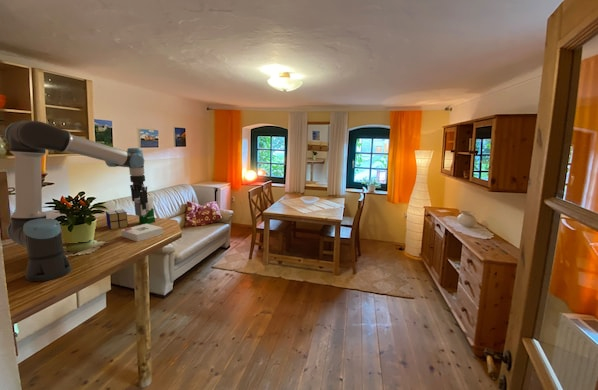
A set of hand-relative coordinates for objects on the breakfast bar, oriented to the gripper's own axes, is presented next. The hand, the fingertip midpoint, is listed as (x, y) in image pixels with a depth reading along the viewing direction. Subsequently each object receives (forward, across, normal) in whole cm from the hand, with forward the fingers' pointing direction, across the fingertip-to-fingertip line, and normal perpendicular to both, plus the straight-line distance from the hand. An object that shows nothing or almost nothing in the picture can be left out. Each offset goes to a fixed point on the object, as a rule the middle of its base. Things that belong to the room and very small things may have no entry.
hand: (141, 213), depth 178 cm
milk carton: (+13, +22, -17) cm, 31 cm away
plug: (+1, 0, 0) cm, 1 cm away
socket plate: (+13, 0, 0) cm, 13 cm away
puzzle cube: (+13, +30, -1) cm, 33 cm away
